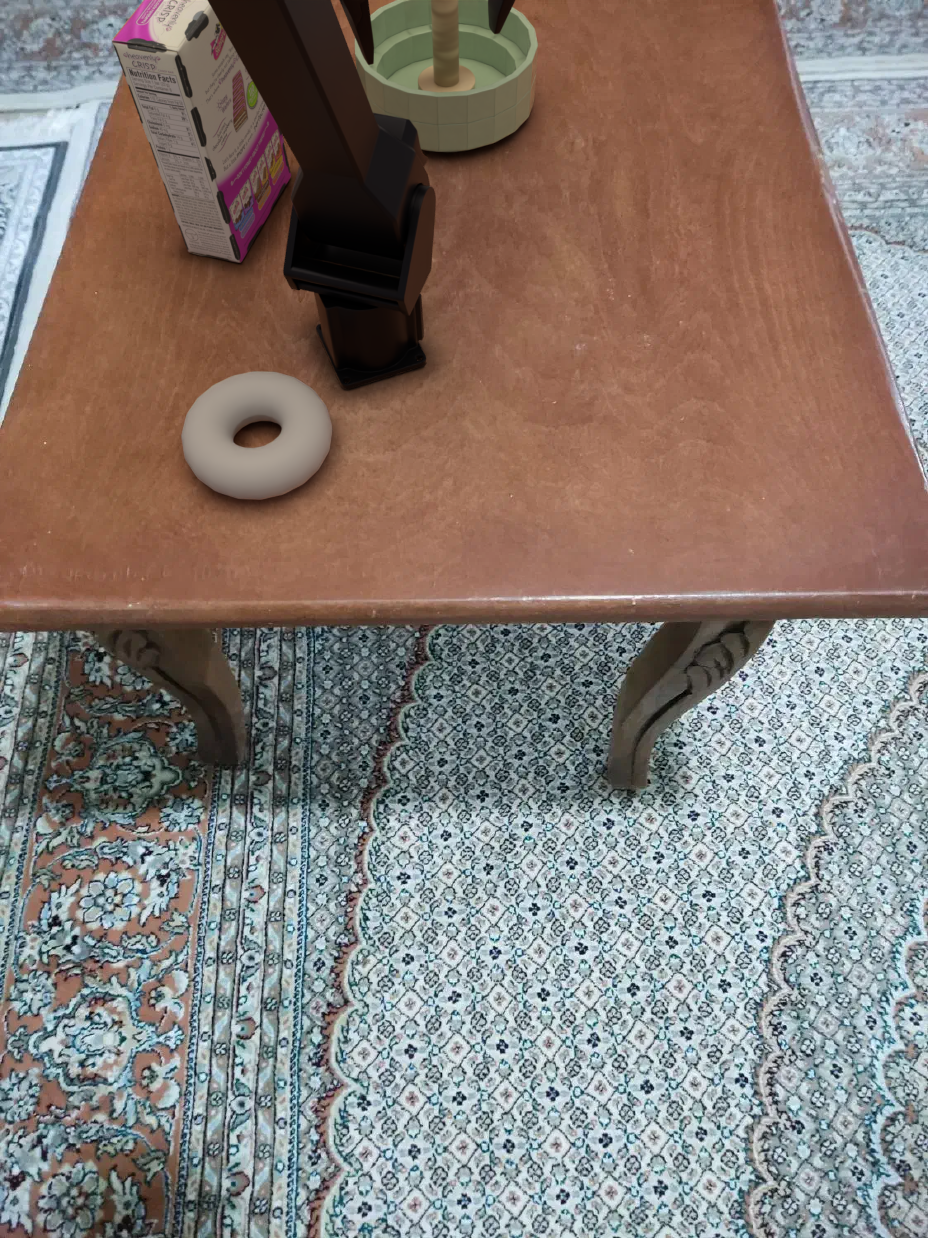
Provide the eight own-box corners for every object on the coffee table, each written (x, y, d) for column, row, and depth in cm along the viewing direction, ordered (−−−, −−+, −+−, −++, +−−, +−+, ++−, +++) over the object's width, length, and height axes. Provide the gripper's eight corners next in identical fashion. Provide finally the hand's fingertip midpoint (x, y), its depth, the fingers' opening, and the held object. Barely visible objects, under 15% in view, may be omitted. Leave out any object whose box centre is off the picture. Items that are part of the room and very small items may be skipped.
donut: (169, 498, 59) (313, 520, 58) (151, 465, 56) (303, 488, 55) (218, 386, 63) (352, 405, 62) (204, 350, 60) (345, 369, 59)
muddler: (486, 101, 77) (489, -79, 65) (438, 121, 76) (432, -59, 64) (455, 73, 79) (452, -107, 67) (407, 91, 78) (396, -88, 66)
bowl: (396, 178, 74) (391, 113, 69) (339, 78, 80) (330, 13, 76) (561, 133, 76) (567, 69, 72) (492, 40, 83) (493, -24, 78)
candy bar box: (238, 167, 75) (181, -55, 60) (293, 177, 74) (249, -45, 59) (182, 255, 70) (106, 36, 55) (241, 266, 69) (179, 48, 54)
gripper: (520, -343, 52) (510, -41, 65) (209, -291, 48) (267, 15, 62) (605, -271, 47) (575, 38, 61) (266, -208, 44) (315, 103, 57)
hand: (432, 45), depth 60 cm, fingers open, 9 cm apart
